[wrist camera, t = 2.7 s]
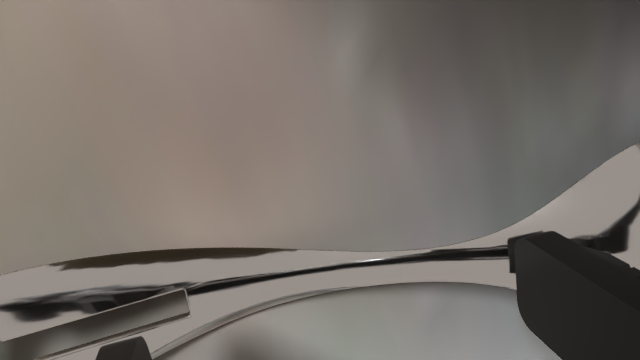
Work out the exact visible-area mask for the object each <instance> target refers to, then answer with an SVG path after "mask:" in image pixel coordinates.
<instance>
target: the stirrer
mask: <svg viewBox="0 0 640 360" xmlns="http://www.w3.org/2000/svg"><path fill="white" fill-rule="evenodd" d="M547 231H555V232H557V233H559V234H561V235H562V236H564V237H566V238H568V239H570V240H571V241H573V242H575V243H577V244H579V245H580V246H584V247H588V248H591V249H595V250H599V251H602V252H606V253H609V254H611V255H613V256H615V257H616V258H618V259H620V260H622V261H624V262H626V263H628V264H629V265H630V267H631V268H632V267H635V268H637V269H639V270H640V142H639V143H637V144H634V145H632V146H631V147H629V148H627V149H625V150H623V151H622V152H620V153H618V154H616V155H615V156H613V157H612V158H610V159H609V160H607V161H606V162H604V163H603V164H601V165H600V166H598V167H597V168H595V169H594V170H593V171H591V172H590V173H589V174H587V175H586V176H584V177H583V178H582V179H580V180H579V181H578V182H576V183H575V184H574V185H572V186H571V187H570V188H568V189H567V190H566V191H564V192H563V193H562V194H560V195H559V196H557V197H556V198H555V199H553V200H552V201H550V202H549V203H548V204H546V205H545V206H543V207H542V208H540V209H539V210H537V211H536V212H534V213H533V214H531V215H529V216H528V217H526V218H524V219H522V220H521V221H519V222H517V223H515V224H513V225H511V226H509V227H506V228H504V229H502V230H499V231H497V232H494V233H491V234H489V235H486V236H483V237H480V238H476V239H473V240H469V241H465V242H461V243H457V244H451V245H446V246H439V247H432V248H423V249H413V250H400V251H331V250H305V249H281V248H237V247H227V248H186V249H166V250H152V251H140V252H129V253H120V254H111V255H103V256H96V257H88V258H82V259H76V260H69V261H63V262H58V263H52V264H47V265H42V266H37V267H33V268H28V269H23V270H19V271H15V272H11V273H7V274H3V275H0V341H2V342H5V341H8V340H11V339H15V338H18V337H21V336H25V335H28V334H32V333H35V332H38V331H42V330H45V329H49V328H52V327H56V326H59V325H62V324H66V323H69V322H73V321H76V320H79V319H83V318H86V317H90V316H93V315H97V314H100V313H103V312H107V311H110V310H114V309H117V308H120V307H124V306H127V305H131V304H134V303H138V302H141V301H144V300H148V299H151V298H155V297H158V296H162V295H165V294H169V293H172V292H176V291H179V290H184V291H185V295H186V300H187V304H188V308H189V312H187V313H183V314H180V315H177V316H173V317H170V318H167V319H163V320H160V321H157V322H153V323H150V324H147V325H143V326H140V327H137V328H133V329H130V330H127V331H124V332H120V333H117V334H114V335H110V336H107V337H104V338H101V339H97V340H94V341H91V342H87V343H84V344H81V345H78V346H74V347H71V348H68V349H65V350H61V351H58V352H55V353H52V354H48V355H45V356H42V357H39V358H36V359H32V360H95V359H96V357H97V354H98V351H99V349H100V348H101V347H102V346H104V345H108V344H112V343H115V342H119V341H123V340H127V339H131V338H135V337H139V336H142V337H143V338H144V339H145V341H146V343H147V346H148V349H149V352H150V355H151V358H152V359H154V358H156V357H157V356H159V355H161V354H163V353H165V352H167V351H169V350H171V349H173V348H175V347H177V346H179V345H181V344H183V343H185V342H187V341H189V340H191V339H193V338H195V337H197V336H199V335H201V334H204V333H206V332H208V331H210V330H212V329H214V328H217V327H219V326H221V325H223V324H226V323H228V322H230V321H233V320H235V319H238V318H240V317H243V316H245V315H248V314H251V313H254V312H256V311H259V310H262V309H265V308H268V307H271V306H275V305H278V304H281V303H285V302H288V301H292V300H296V299H300V298H304V297H308V296H313V295H318V294H322V293H327V292H333V291H338V290H344V289H351V288H358V287H365V286H374V285H382V284H394V283H408V282H465V283H477V284H486V285H493V286H499V287H505V288H509V289H514V290H517V287H516V270H515V254H514V248H515V243H516V241H517V240H518V239H520V238H524V237H528V236H532V235H536V234H539V233H543V232H547Z"/></svg>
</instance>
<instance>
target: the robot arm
mask: <svg viewBox="0 0 640 360" xmlns="http://www.w3.org/2000/svg"><path fill="white" fill-rule="evenodd" d="M514 254H515V270H516V287H517V302H518V307H519V311H520V314H521V316H522V318H523V320H524V322H525V324H526V325H527V327H528V328H529V329H530V330H531V331H532V332H533V333H534V334H535V335H536V336H537V337H538V338H539V339H541V340H542V341H543V342H544V343H545V344H546V345H547V346H548V347H549V348H550V349H551V350H552V351H554V352H555V353H556V354H557V355H558V356H559V357H560V358H561V359H562V360H640V270H639V269H637V268H635V267H632V268H631V267H630V265H629V264H628V263H626V262H624V261H622V260H620V259H618V258H616V257H615V256H613V255H611V254H609V253H606V252H602V251H599V250H595V249H591V248H588V247H584V246H580V245H579V244H577V243H575V242H573V241H571V240H570V239H568V238H566V237H564V236H562V235H561V234H559V233H557V232H555V231H547V232H543V233H539V234H536V235H532V236H528V237H524V238H520V239H518V240H517V241H516V243H515V248H514ZM95 360H152V358H151V355H150V352H149V349H148V346H147V343H146V341H145V339H144V338H143V337H142V336H139V337H135V338H131V339H127V340H123V341H119V342H115V343H112V344H108V345H104V346H102V347H101V348H100V349H99V351H98V354H97V357H96V359H95Z"/></svg>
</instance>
